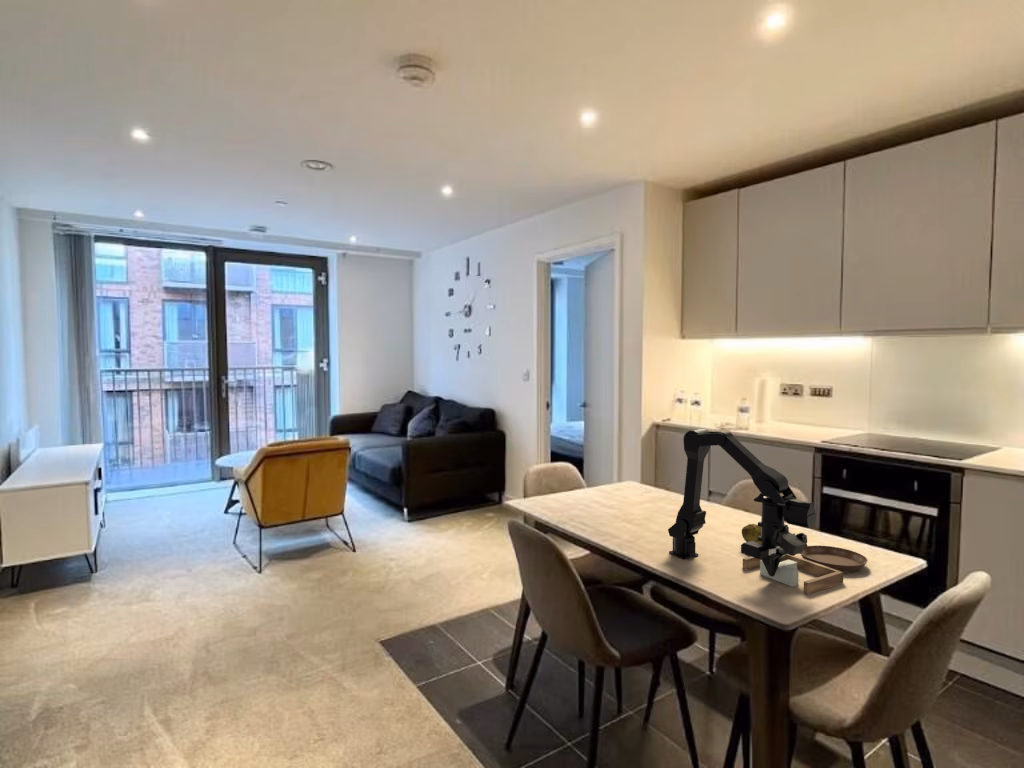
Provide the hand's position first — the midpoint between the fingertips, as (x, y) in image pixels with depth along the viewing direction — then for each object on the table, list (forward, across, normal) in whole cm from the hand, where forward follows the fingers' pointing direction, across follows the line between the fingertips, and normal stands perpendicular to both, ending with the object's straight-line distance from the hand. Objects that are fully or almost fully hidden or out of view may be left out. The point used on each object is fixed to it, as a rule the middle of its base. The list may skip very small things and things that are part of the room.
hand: (771, 575), depth 156 cm
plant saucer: (+2, +27, 0) cm, 27 cm away
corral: (+2, +8, 0) cm, 8 cm away
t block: (+1, +6, 0) cm, 6 cm away
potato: (+2, +18, +17) cm, 25 cm away
